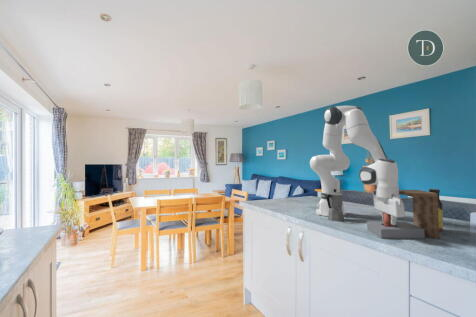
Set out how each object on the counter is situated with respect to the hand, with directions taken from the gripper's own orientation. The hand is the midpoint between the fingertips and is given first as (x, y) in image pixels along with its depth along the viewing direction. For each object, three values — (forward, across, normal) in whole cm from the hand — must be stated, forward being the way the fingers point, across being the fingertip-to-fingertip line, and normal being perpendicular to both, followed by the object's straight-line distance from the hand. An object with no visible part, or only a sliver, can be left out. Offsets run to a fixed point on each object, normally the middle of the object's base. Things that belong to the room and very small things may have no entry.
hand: (388, 222), depth 114 cm
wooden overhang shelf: (+5, 0, -12) cm, 13 cm away
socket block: (+5, 0, -2) cm, 5 cm away
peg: (+5, 0, 0) cm, 5 cm away
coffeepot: (+5, +29, +16) cm, 34 cm away
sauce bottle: (+5, +6, -24) cm, 25 cm away
